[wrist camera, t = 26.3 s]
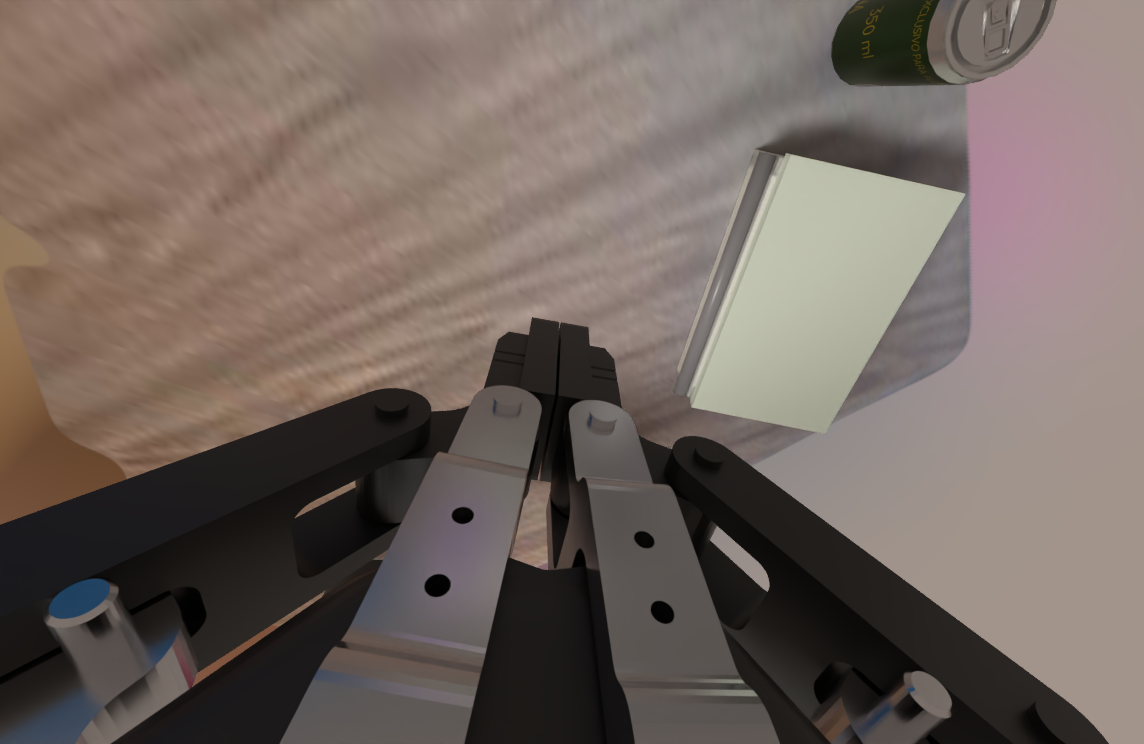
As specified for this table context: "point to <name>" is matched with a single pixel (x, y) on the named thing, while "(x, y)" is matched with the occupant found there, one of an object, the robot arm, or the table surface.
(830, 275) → the cover
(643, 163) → the table surface
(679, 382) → the shallow rectangular tray
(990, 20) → the beer can
